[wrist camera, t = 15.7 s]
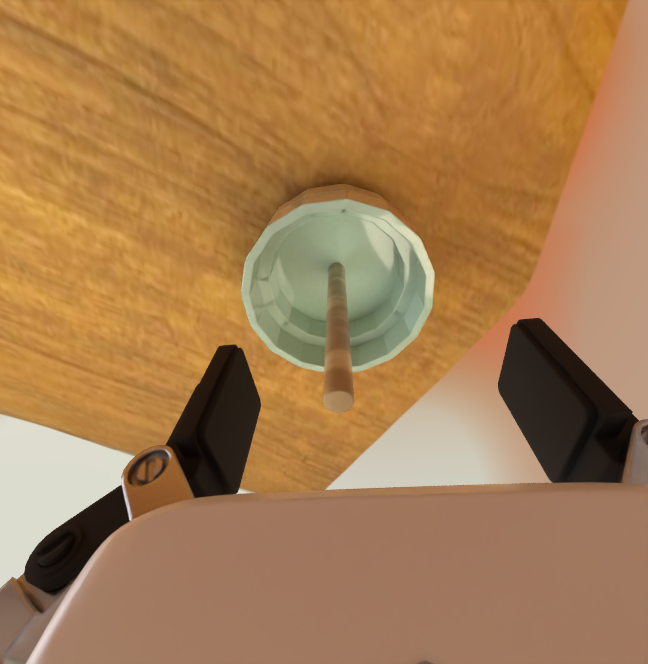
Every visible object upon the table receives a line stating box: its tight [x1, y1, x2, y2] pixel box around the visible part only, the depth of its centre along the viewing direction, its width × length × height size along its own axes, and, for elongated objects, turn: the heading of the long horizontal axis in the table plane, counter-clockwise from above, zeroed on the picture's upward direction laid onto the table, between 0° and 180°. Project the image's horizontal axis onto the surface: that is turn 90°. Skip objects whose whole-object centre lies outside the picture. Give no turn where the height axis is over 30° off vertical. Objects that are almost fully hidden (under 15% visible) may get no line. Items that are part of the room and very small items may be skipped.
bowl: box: [241, 183, 435, 372], centre depth 25 cm, size 13×13×6 cm
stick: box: [323, 263, 354, 413], centre depth 20 cm, size 1×1×15 cm
